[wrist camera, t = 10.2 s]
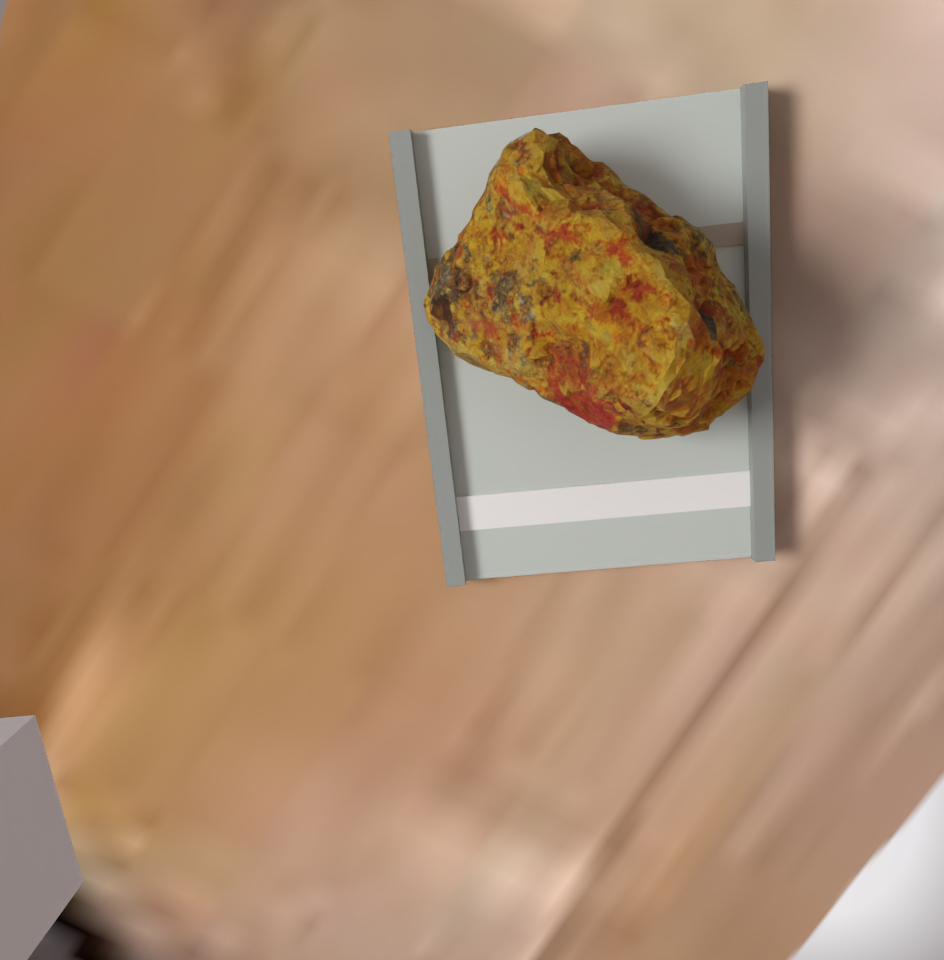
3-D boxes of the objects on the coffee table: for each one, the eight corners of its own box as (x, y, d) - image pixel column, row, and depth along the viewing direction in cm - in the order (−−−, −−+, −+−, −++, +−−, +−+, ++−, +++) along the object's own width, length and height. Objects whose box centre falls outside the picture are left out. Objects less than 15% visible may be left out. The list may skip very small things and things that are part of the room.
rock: (520, 394, 35) (360, 314, 28) (601, 223, 34) (459, 92, 27) (735, 493, 28) (599, 423, 20) (846, 281, 27) (746, 124, 19)
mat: (449, 576, 34) (446, 586, 33) (393, 138, 30) (388, 132, 28) (766, 550, 33) (775, 560, 32) (757, 89, 28) (768, 81, 27)
